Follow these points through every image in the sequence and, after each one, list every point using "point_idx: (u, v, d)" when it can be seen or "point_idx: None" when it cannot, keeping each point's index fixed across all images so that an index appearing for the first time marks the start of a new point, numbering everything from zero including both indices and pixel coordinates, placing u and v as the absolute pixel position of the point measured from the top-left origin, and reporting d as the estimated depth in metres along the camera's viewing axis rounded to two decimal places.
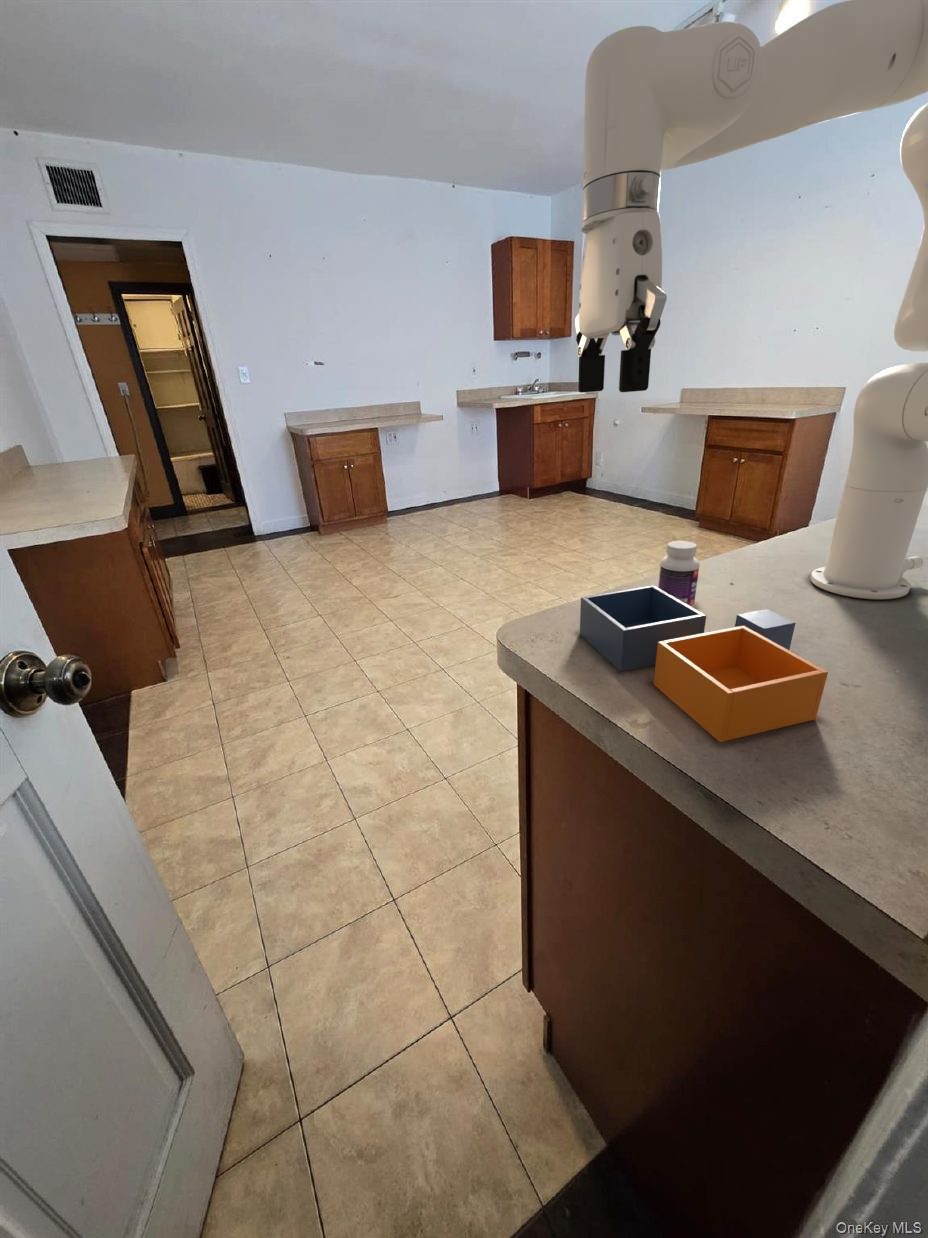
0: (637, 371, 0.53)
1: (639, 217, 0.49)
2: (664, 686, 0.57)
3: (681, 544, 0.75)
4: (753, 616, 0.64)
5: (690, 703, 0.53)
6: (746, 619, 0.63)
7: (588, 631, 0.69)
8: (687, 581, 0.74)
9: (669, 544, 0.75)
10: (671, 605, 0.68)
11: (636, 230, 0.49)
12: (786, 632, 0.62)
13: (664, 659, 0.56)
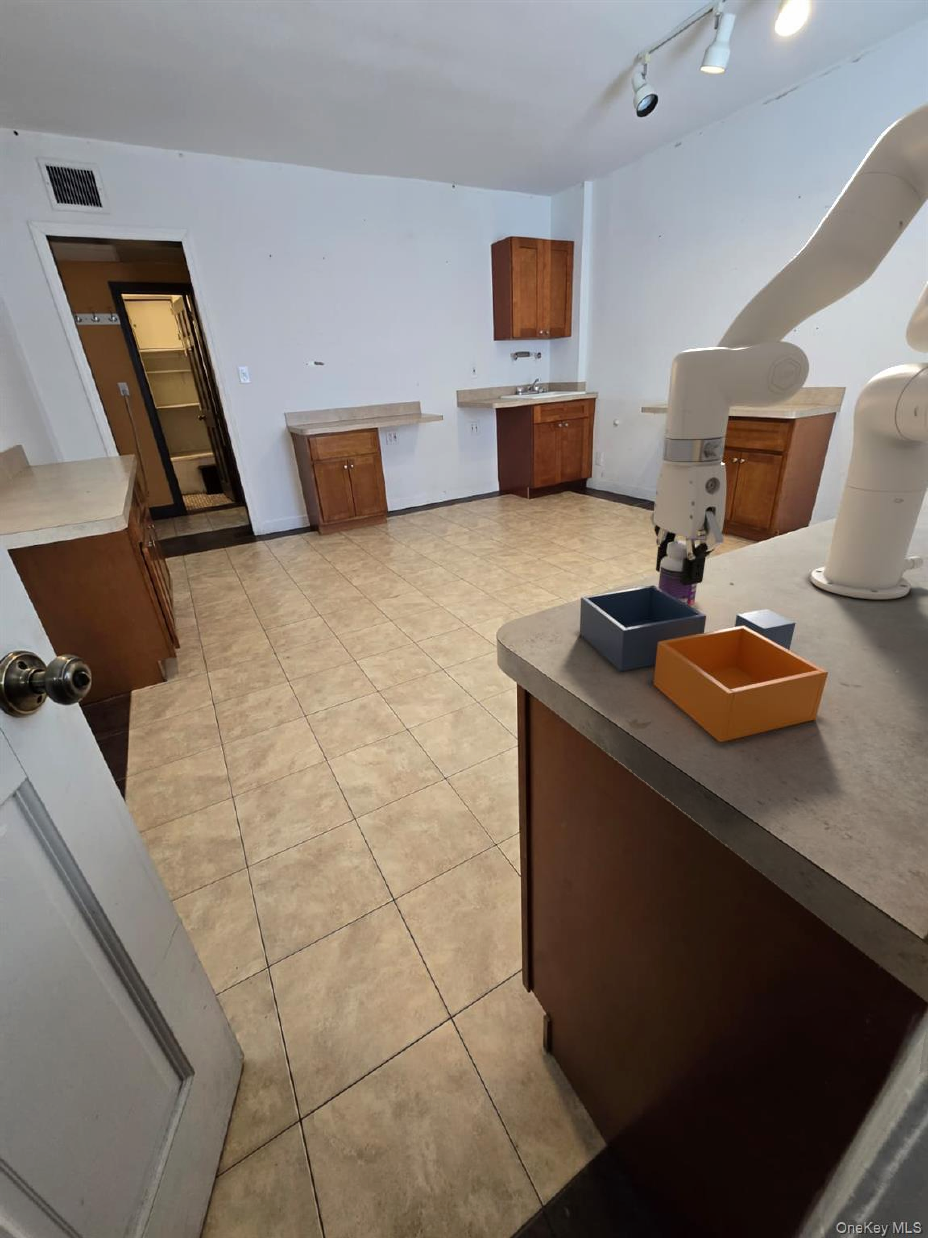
0: (695, 573, 0.72)
1: (711, 469, 0.66)
2: (664, 686, 0.57)
3: (681, 544, 0.75)
4: (753, 616, 0.64)
5: (690, 703, 0.53)
6: (746, 619, 0.63)
7: (588, 631, 0.69)
8: None
9: (669, 544, 0.75)
10: (671, 605, 0.68)
11: (708, 478, 0.66)
12: (786, 632, 0.62)
13: (664, 659, 0.56)
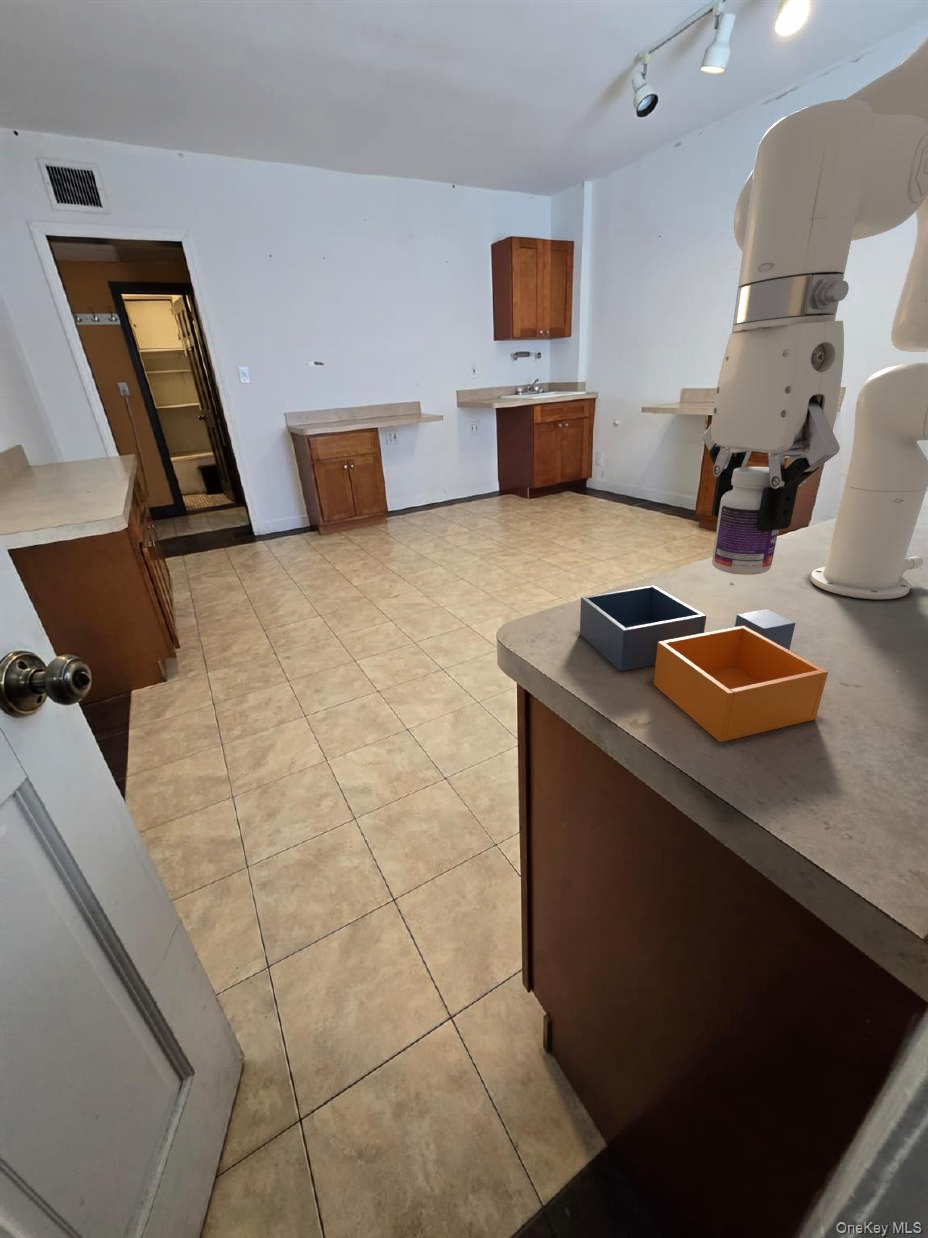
0: (782, 511, 0.46)
1: (822, 328, 0.40)
2: (664, 686, 0.57)
3: (755, 469, 0.48)
4: (753, 616, 0.64)
5: (690, 703, 0.53)
6: (746, 619, 0.63)
7: (588, 631, 0.69)
8: None
9: (737, 470, 0.49)
10: (671, 605, 0.68)
11: (817, 343, 0.40)
12: (786, 632, 0.62)
13: (664, 659, 0.56)
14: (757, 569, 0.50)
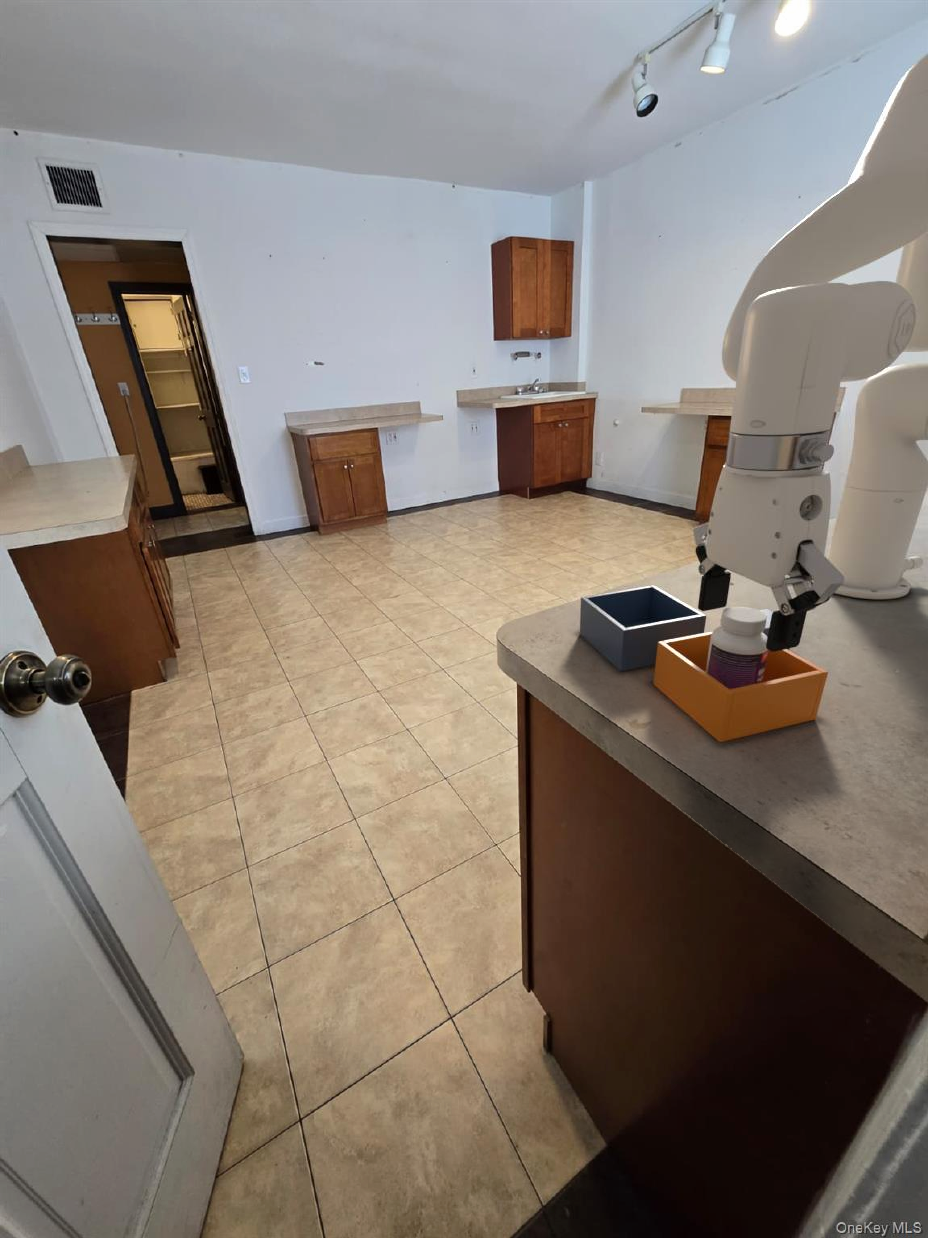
0: (792, 634, 0.46)
1: (809, 482, 0.42)
2: (664, 686, 0.57)
3: (742, 613, 0.51)
4: None
5: (690, 703, 0.53)
6: None
7: (588, 631, 0.69)
8: (753, 669, 0.51)
9: (725, 613, 0.52)
10: (671, 605, 0.68)
11: (805, 496, 0.42)
12: None
13: (664, 659, 0.56)
14: None
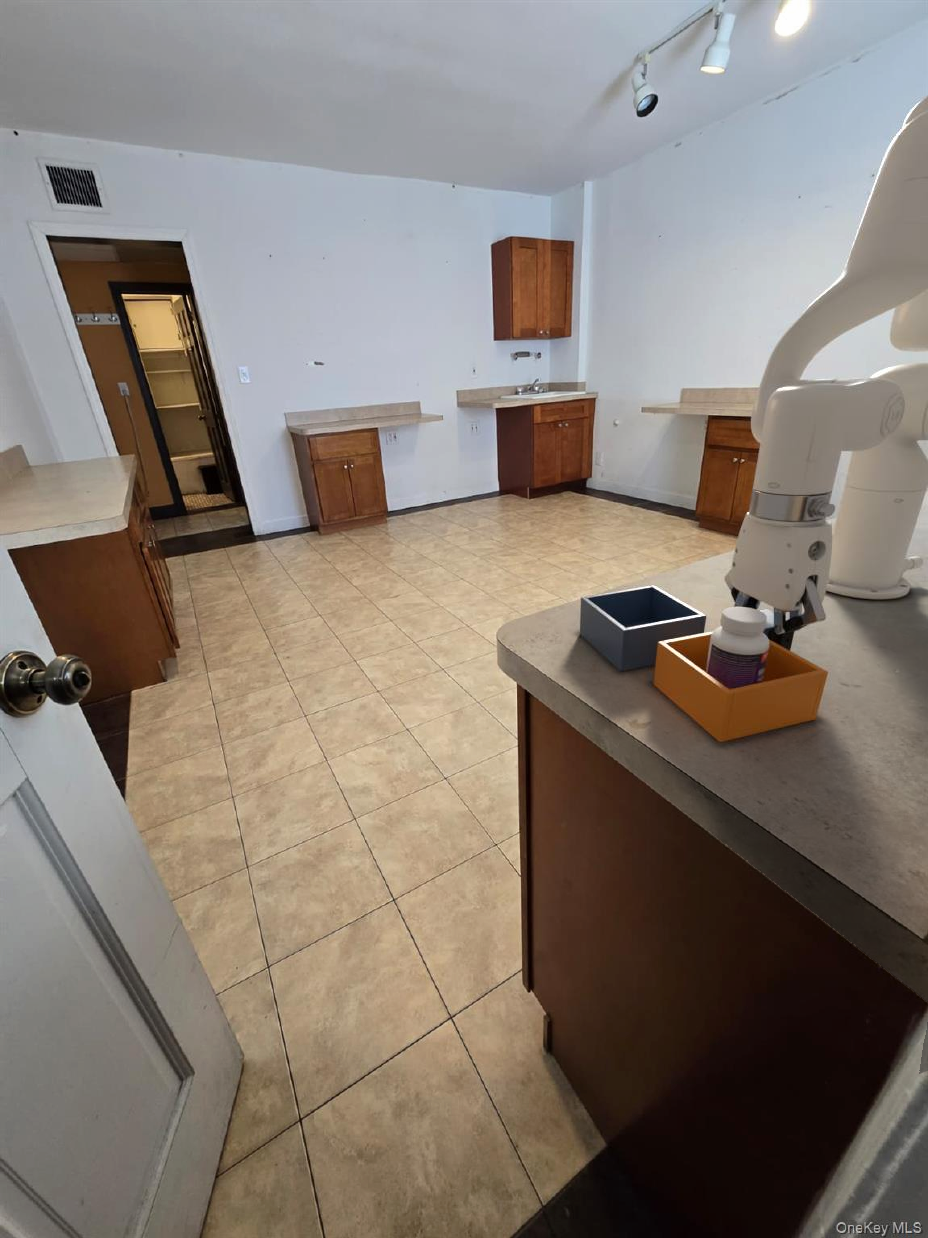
0: None
1: (816, 531, 0.54)
2: (664, 686, 0.57)
3: (742, 613, 0.51)
4: None
5: (690, 703, 0.53)
6: None
7: (588, 631, 0.69)
8: (753, 669, 0.51)
9: (725, 613, 0.52)
10: (671, 605, 0.68)
11: (812, 542, 0.54)
12: None
13: (664, 659, 0.56)
14: None
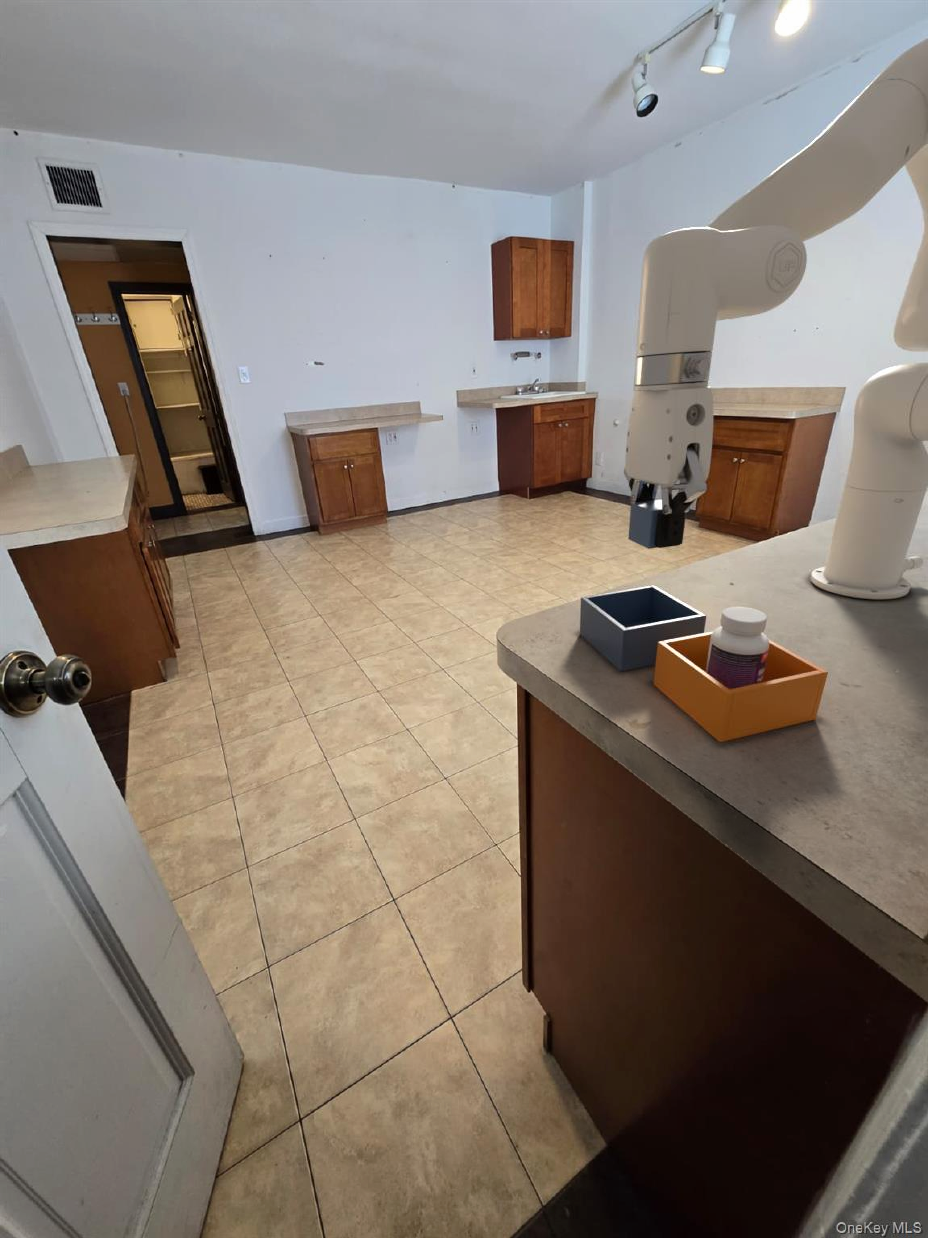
0: (673, 532, 0.58)
1: (693, 393, 0.51)
2: (664, 686, 0.57)
3: (742, 613, 0.51)
4: (646, 503, 0.61)
5: (690, 703, 0.53)
6: (639, 505, 0.60)
7: (588, 631, 0.69)
8: (753, 669, 0.51)
9: (725, 613, 0.52)
10: (671, 605, 0.68)
11: (690, 404, 0.52)
12: None
13: (664, 659, 0.56)
14: None
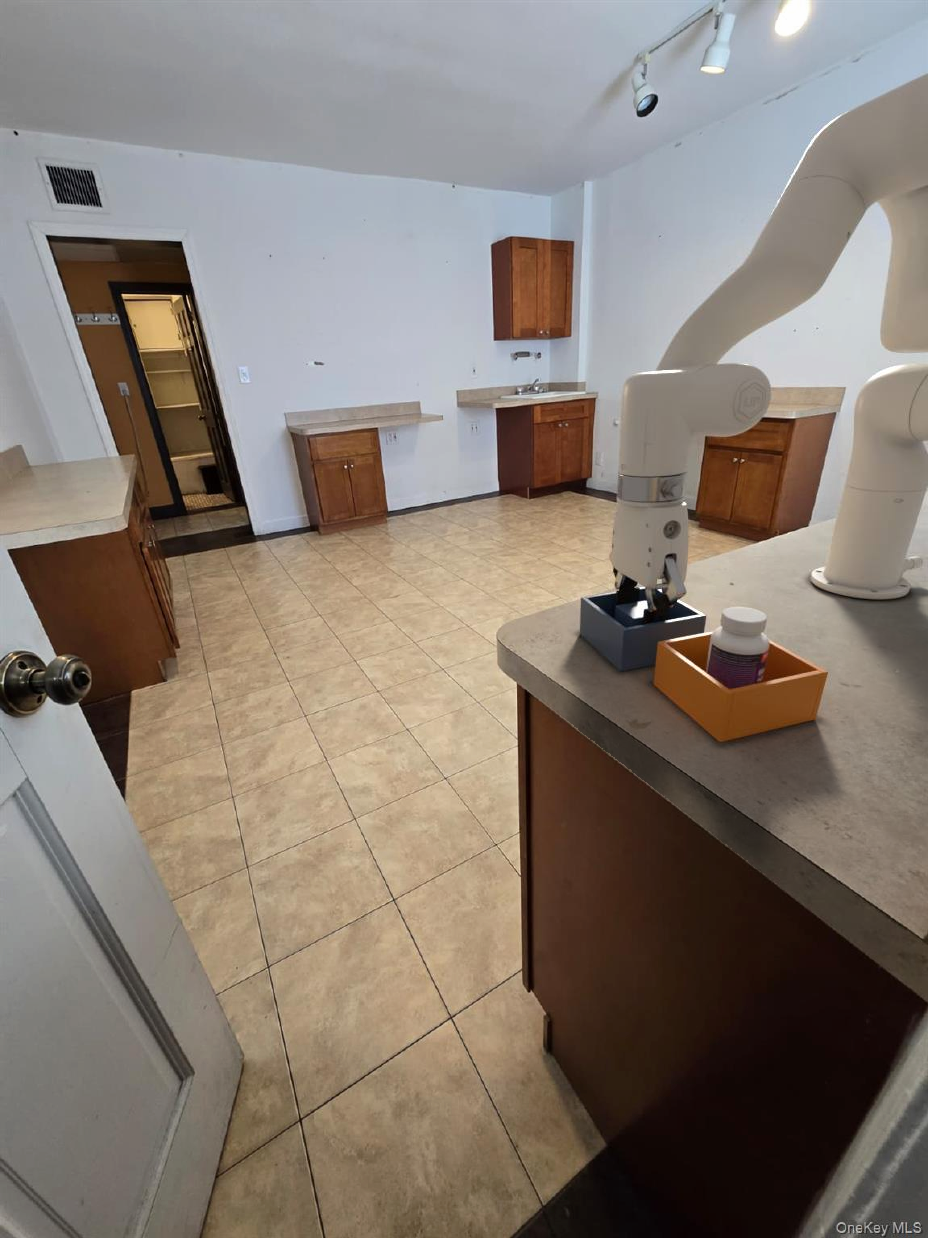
0: None
1: (669, 511, 0.57)
2: (664, 686, 0.57)
3: (742, 613, 0.51)
4: (629, 607, 0.67)
5: (690, 703, 0.53)
6: (622, 610, 0.66)
7: (588, 631, 0.69)
8: (753, 669, 0.51)
9: (725, 613, 0.52)
10: None
11: (666, 521, 0.57)
12: None
13: (664, 659, 0.56)
14: None
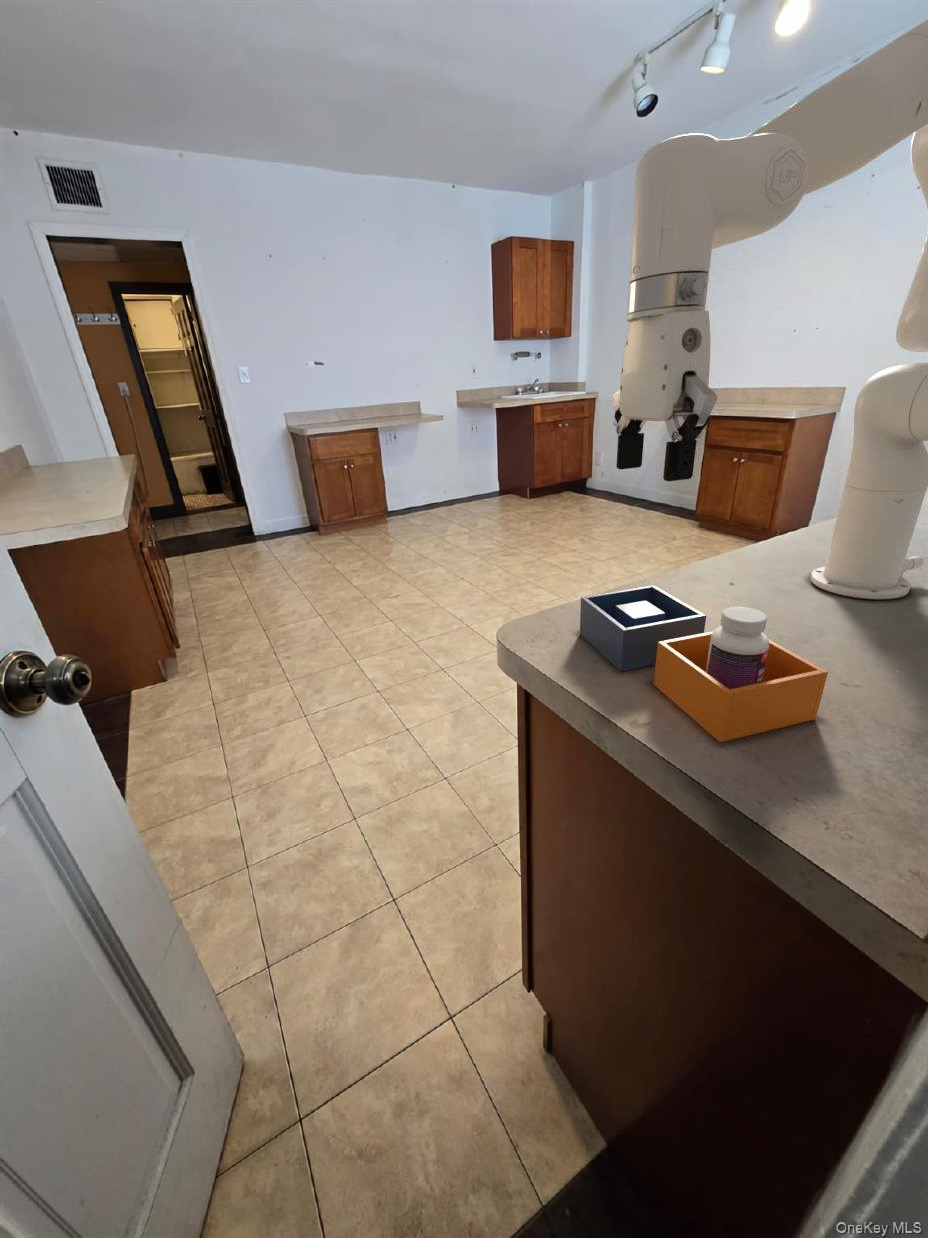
0: (683, 462, 0.53)
1: (689, 316, 0.49)
2: (664, 686, 0.57)
3: (742, 613, 0.51)
4: (629, 607, 0.67)
5: (690, 703, 0.53)
6: (622, 610, 0.66)
7: (588, 631, 0.69)
8: (753, 669, 0.51)
9: (725, 613, 0.52)
10: (671, 605, 0.68)
11: (685, 329, 0.49)
12: None
13: (664, 659, 0.56)
14: None
